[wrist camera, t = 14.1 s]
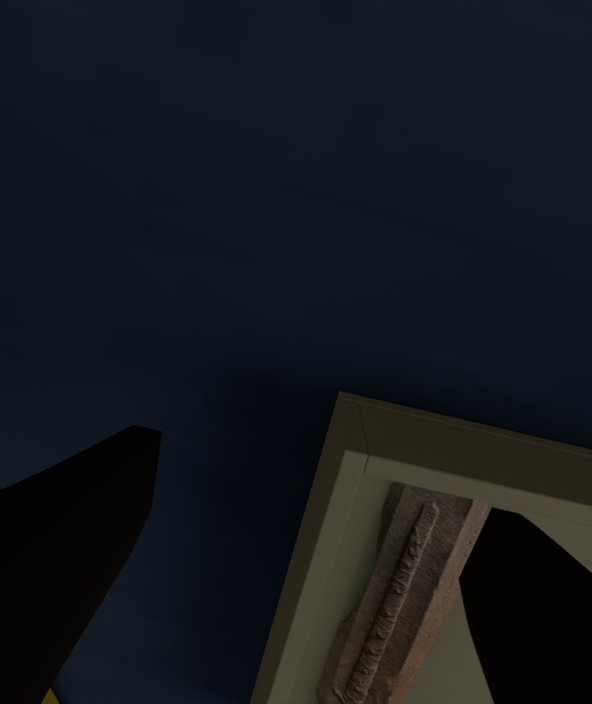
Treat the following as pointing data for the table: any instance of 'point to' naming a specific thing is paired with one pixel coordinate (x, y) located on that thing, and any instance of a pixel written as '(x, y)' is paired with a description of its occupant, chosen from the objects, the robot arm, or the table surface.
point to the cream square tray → (364, 524)
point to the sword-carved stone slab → (402, 596)
